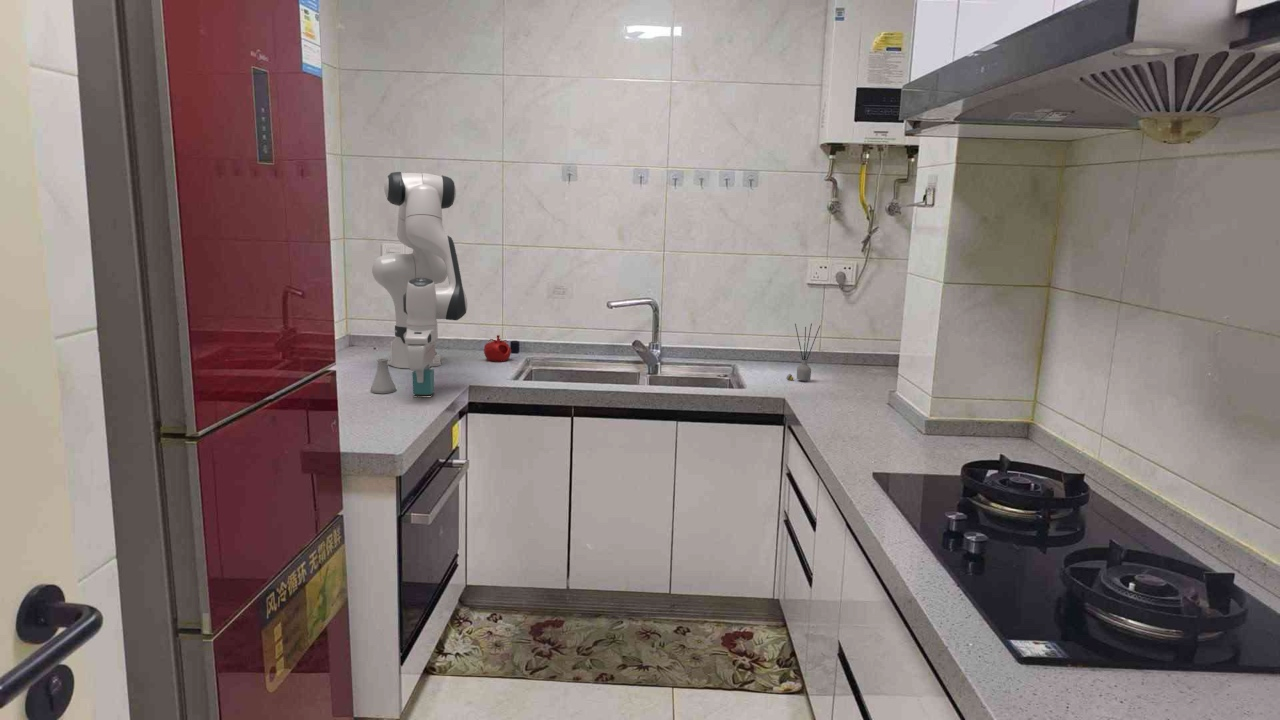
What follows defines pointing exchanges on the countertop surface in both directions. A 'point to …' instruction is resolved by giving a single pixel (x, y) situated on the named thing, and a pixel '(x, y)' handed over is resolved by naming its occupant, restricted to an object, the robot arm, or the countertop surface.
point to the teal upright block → (424, 383)
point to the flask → (383, 378)
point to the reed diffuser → (803, 362)
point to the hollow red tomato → (497, 350)
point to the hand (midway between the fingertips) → (423, 379)
